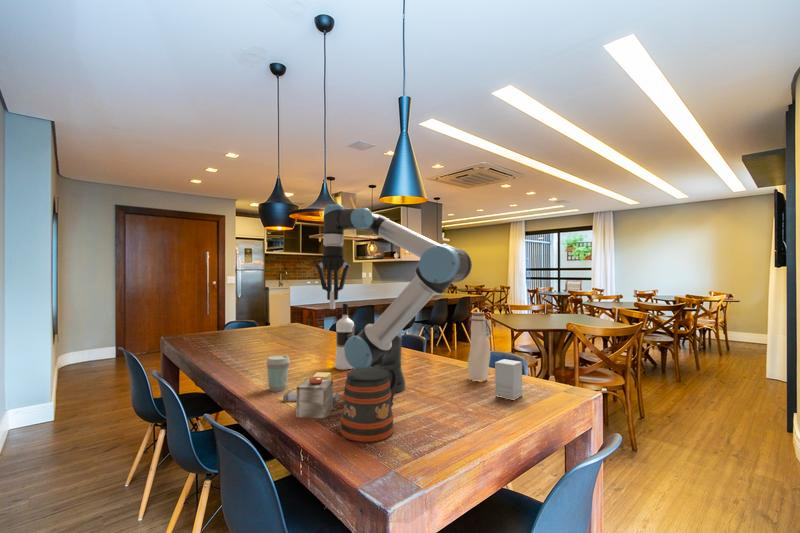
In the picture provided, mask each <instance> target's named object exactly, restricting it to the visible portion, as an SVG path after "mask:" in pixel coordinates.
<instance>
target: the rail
mask: <svg viewBox="0 0 800 533" xmlns="http://www.w3.org/2000/svg"><path fill="white" fill-rule="evenodd" d="M339 399H340V392H336V393H333V404H337V403H338V401H339ZM282 402H283V403H286V402H297V392H295V391H294V392H292V391H287V392H285V394H284V395H283V396H282Z"/></svg>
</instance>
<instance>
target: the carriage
mask: <svg viewBox="0 0 800 533" xmlns="http://www.w3.org/2000/svg"><path fill="white" fill-rule="evenodd" d="M312 377H322V380H332V372H324V371H322V372H319V371H318V372H315V374H313V376H312Z"/></svg>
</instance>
